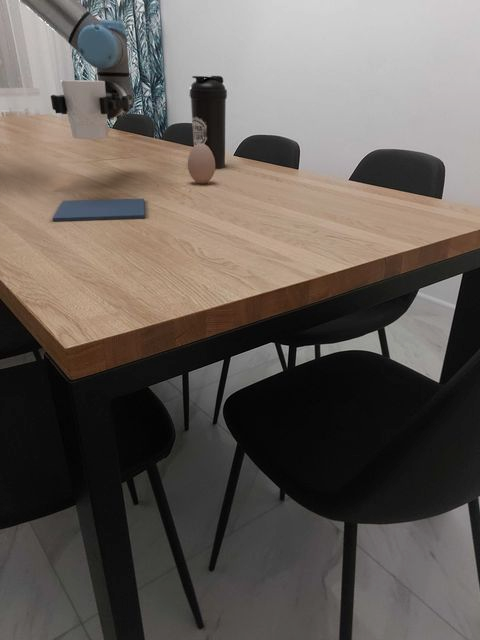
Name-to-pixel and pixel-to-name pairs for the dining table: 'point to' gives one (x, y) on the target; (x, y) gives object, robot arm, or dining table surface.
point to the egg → (201, 163)
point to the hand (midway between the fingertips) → (79, 105)
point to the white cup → (85, 108)
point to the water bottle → (209, 115)
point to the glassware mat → (100, 209)
